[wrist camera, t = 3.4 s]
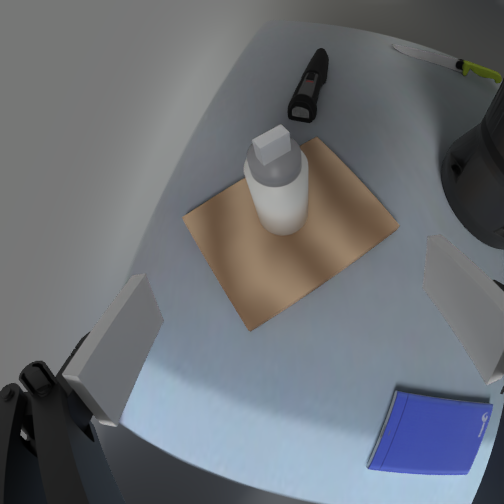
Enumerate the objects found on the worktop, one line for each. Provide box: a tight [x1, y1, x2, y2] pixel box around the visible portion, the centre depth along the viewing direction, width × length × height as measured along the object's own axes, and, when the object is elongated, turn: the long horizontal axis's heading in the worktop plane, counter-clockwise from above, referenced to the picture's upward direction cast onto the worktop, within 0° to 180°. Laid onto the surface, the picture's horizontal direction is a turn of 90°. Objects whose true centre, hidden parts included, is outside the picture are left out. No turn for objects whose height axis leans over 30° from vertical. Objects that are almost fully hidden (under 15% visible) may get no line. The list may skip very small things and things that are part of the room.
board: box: [182, 137, 400, 331], centre depth 30 cm, size 18×14×1 cm
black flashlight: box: [288, 48, 329, 123], centre depth 36 cm, size 4×16×3 cm, turn 160°
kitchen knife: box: [392, 44, 502, 83], centre depth 34 cm, size 22×1×3 cm, turn 73°
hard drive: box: [366, 391, 493, 475], centre depth 20 cm, size 2×8×12 cm
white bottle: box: [244, 125, 308, 235], centre depth 24 cm, size 5×5×12 cm
